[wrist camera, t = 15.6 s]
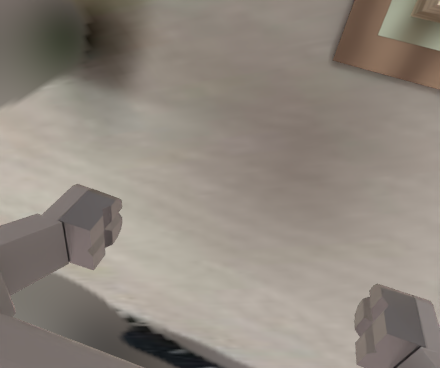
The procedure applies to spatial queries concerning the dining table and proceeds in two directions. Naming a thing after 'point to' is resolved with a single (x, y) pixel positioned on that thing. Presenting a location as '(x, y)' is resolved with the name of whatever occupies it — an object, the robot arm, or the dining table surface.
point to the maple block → (427, 10)
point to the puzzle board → (391, 41)
